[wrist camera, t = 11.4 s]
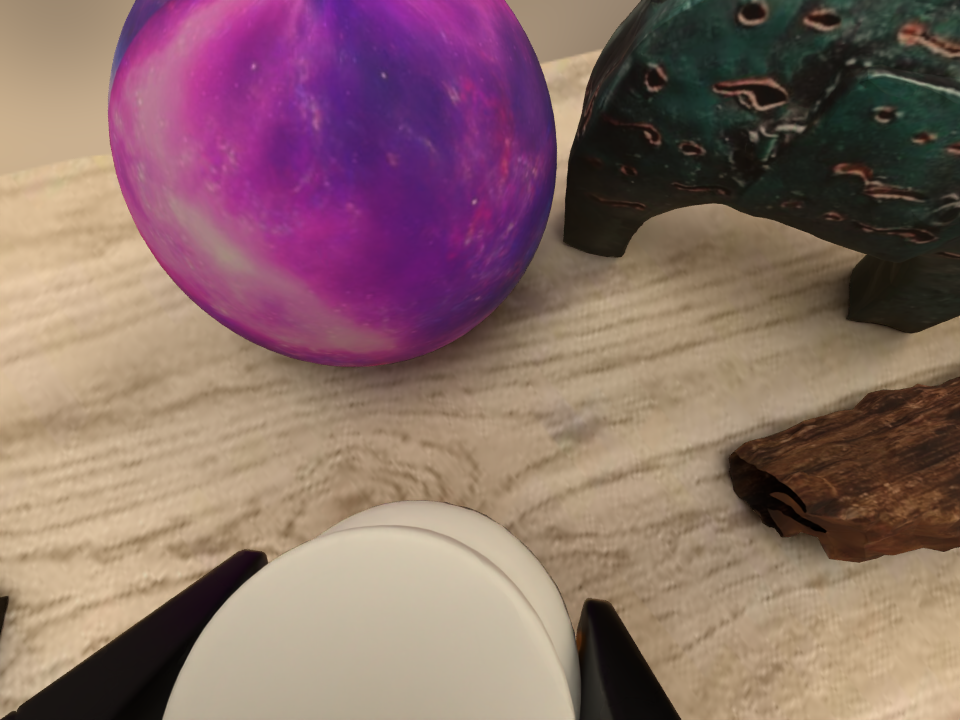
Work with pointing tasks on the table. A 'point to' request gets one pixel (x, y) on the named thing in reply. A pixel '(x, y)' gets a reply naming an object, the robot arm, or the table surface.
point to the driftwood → (863, 475)
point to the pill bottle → (390, 628)
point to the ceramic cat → (786, 135)
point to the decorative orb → (335, 165)
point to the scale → (2, 609)
